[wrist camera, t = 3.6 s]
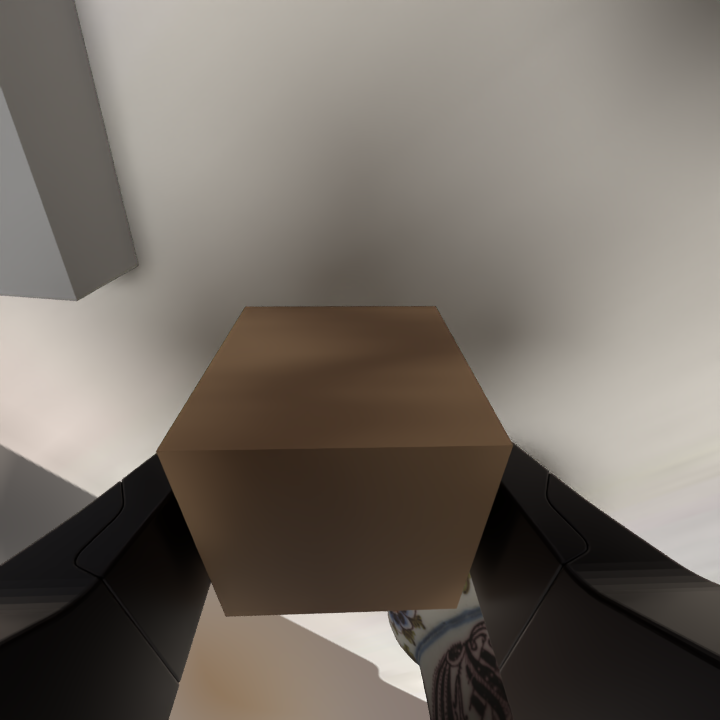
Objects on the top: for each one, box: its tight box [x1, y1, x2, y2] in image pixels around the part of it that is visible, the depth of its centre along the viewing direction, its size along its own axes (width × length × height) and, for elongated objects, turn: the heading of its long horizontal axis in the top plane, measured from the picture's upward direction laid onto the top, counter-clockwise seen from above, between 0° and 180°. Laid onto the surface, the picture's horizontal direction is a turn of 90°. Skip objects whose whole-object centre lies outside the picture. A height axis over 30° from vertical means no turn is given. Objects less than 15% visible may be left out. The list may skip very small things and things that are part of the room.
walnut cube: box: [156, 306, 513, 617], centre depth 8 cm, size 5×5×5 cm
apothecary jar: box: [388, 572, 514, 720], centre depth 15 cm, size 12×12×18 cm
